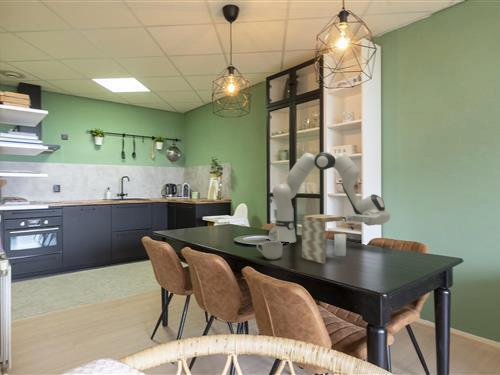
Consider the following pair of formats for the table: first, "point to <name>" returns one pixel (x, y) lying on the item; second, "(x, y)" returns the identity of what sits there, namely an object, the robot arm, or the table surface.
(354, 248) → the table surface
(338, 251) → the pale grey upright cylinder
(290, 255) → the table surface
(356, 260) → the table surface
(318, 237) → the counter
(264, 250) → the teacup
